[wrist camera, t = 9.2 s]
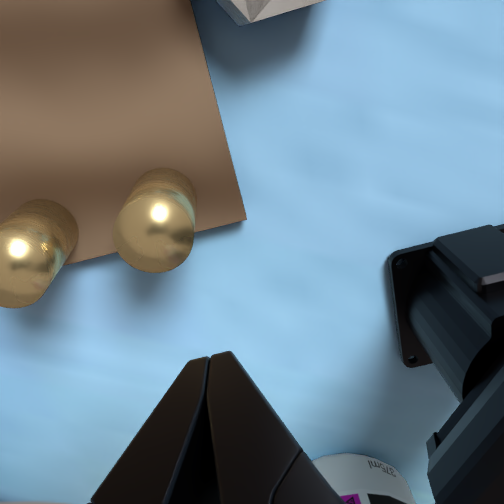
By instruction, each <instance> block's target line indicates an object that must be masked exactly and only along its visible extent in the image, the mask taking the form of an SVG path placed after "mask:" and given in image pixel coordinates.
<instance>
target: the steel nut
mask: <svg viewBox="0 0 504 504" xmlns="http://www.w3.org/2000/svg"><path fill="white" fill-rule="evenodd" d="M216 1H217V2H218V3H219V5H220V6H221V7H222V8H223V9H224V10H225V11H226V12H227V13H228V14H229V16H230V17H231V18H232V19H233V20H234V21H235V22H236V23H237V24H238V25H239V26H242V25H246V24H249V23H252V22H255V21H259V20H262V19H265V18H269V17H272V16H275V15H278V14H282V13H285V12H288V11H292V10H295V9H298V8H301V7H305V6H308V5H311V4H315V3H318V2H322V1H325V0H216Z"/></svg>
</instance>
